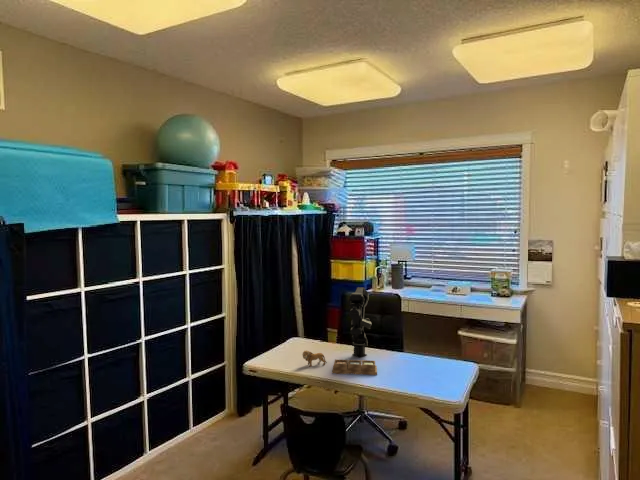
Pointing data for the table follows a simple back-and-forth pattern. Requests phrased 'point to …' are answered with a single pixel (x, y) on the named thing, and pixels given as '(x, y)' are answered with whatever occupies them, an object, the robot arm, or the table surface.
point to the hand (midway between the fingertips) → (356, 342)
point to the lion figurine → (313, 357)
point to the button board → (355, 367)
